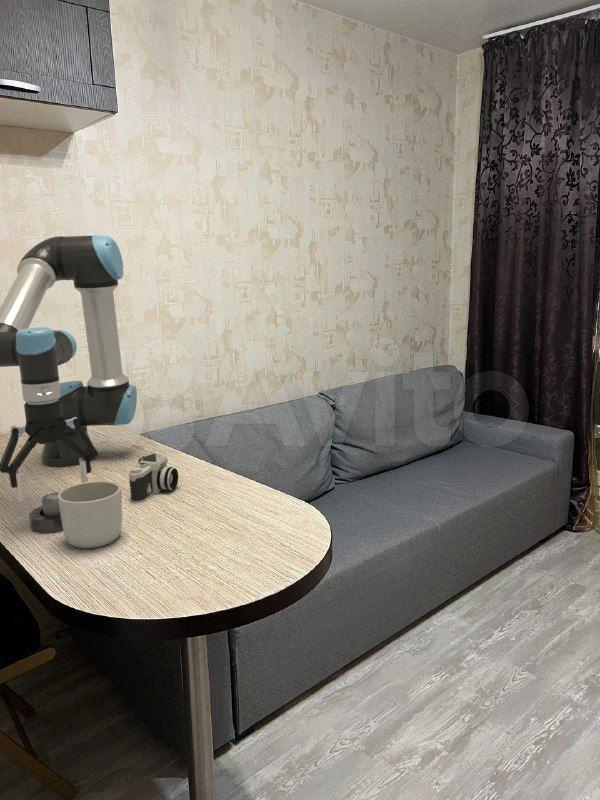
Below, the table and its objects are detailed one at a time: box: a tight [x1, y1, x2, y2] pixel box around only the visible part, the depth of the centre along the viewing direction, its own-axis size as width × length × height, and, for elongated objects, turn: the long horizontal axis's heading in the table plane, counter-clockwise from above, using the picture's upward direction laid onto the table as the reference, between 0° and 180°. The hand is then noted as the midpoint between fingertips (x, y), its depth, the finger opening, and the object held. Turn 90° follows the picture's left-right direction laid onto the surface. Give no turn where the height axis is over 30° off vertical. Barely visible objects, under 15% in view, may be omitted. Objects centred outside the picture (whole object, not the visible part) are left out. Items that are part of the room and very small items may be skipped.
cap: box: [41, 492, 60, 517], centre depth 138 cm, size 5×5×6 cm
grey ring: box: [28, 505, 64, 535], centre depth 139 cm, size 10×10×3 cm
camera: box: [128, 452, 179, 504], centre depth 156 cm, size 16×9×10 cm, turn 166°
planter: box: [58, 480, 123, 549], centre depth 129 cm, size 12×12×11 cm
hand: (53, 493), depth 138 cm, fingers open, 13 cm apart
